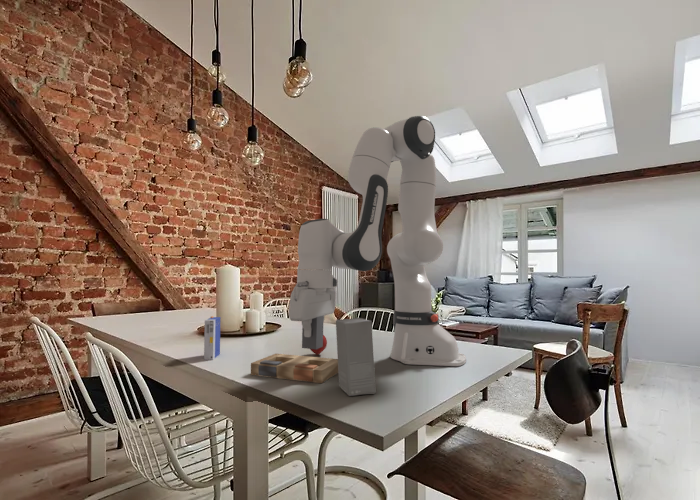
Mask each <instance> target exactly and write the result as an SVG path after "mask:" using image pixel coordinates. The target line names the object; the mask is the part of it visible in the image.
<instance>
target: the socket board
mask: <svg viewBox="0 0 700 500" xmlns="http://www.w3.org/2000/svg"><path fill="white" fill-rule="evenodd" d="M336 374H338V358H329V357H328V358H327V357H319V356H306V355H297V354H286V353H273V354H271V355H268V356H265V357H263V358H260V359H258V360H256V361H253V362H251V363H250V376H255V375H256V376H255V377H263V376H264V377H265V378H273V379H280V380H281V379H283V380H291V381H299V382H310V383H315V384H324V383H325V382H326V381H328V380H329V379H331V378H332V377H334V376H335V375H336Z"/></svg>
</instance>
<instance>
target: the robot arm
mask: <svg viewBox="0 0 700 500" xmlns="http://www.w3.org/2000/svg"><path fill="white" fill-rule="evenodd" d="M435 143H436V129H435V126H434V124H433V123H432V121H431V120H430V119H429V118H428V117H426V116H424V115H415V116H410V117H408V118H405V119H401V120H399V121H396V122H394V123H392V124H390V125H388V126H386V127H385V128H381V127H369V128H368V129H366V130H365V131H364V132H363V134H362V135H361V137H360V138H359V141H358V142H357V145H356V146H355V150H354V151H353V154H352V157H351V159H350V164H349V167H348V171H347V172H348V173H347V181H348V184H349V185H350V187H351V188H352V189H353V190H354V192H356V193H358V194H360V196H361V195H362V204H361V209H360V213H359V219H358V223H357V225H356V227H355V229H354V230H353V231H351V232H346V231H343V230H341V229H340V228H338V227H337V226H335V225H334V224H333V223H332V222H331V220H330V219H328V218H317V219H311V220H306V221H305V222H303V223H302V224H301V225H300V229H299V232H298V242H297V244H298V245H297V254H298V255H297V256H298V266H297V270H296V271H297V273H296V276H297V277H296V284H295V286H294V287H293V290H292V291H291V294H290V299H289V309H288V317H289V320H290V321H292V322H301V326H303V329H304V336H305V337H311V336H313V329H311V323H312V319H313V318H316V317H319V316H324V317H325V316H328V315H333V314H334V313H335V309H336V302H337V291H336V288H338V285H339V284H338V282H339V281H338V279H337V278H336V277H335V276H334V275H333V274H332V269H333V268H335V269H340V270H341V269H342V270H354V271H358V272H368V271H371V270H372V269H374V268H375V267H376V266H377V265H378V264H379V262H380V260H381V257H382V254H383V241H382V239H383V237H382V232H383V227H384V220H385V216H386V215H385V214H386V209H387V202H388V195H389V184H388V182H387V180H388V174H389V171H390V168H391V163H393V162H400V165H401V174H400V180H399V181H400V183H399V191H398V193H399V194H398V203H397V204H398V206H397V209H398V213H399V214H400V218H401V226H402V231H401V232H399V233H397V234H395V235H394V236H392V238H390V240H389V241H388V243H387V246H386V253H387V255H388V257H389V260H390V265H391V270H392V275H393V282H394V310H393V317H392V319H393V321H392V322H393V329H394V331H393V332H394V333H393V342H392V346H391V347H392V348H391V351H390V355H389V358H391V359H392V360H394V361H398V362H401V363H402V364H404V365H416V366H417V365H418V366H441V367H460V366H463V365H464V364H465V363H466V362H467V357H466V355H465V354H463V353H461V352H459V347H458V342H457V339H456V337H455V336H453V335H452V334H451V333H450V332H449V331H448V330H446V329H445V328H443V326H441V325H440V324H439V319H440V318H439V313H436V312H434V311H432V309H433V308H432V305H433V304H432V285H431V282H430V281H429V279H428V275H427V272H426V268H425V266H426V265H427V266H428V265H429V264H431V263H433V262H435V261H436V260H438V259H439V258H440V257H441V255H442V254H443V250H444V243H443V239H442V237H441V236H440V234H439V233H438V229H437V223H436V217H435V201H436V187H437V170H436V160H435V157H434V156H433V154H432V152H433V151H434V145H435ZM332 267H333V268H332ZM324 322H325V318H324V319H323V323H324Z"/></svg>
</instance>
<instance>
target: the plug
mask: <svg viewBox="0 0 700 500" xmlns="http://www.w3.org/2000/svg"><path fill="white" fill-rule="evenodd" d="M323 319H324V320H325V316H319V317H316V318H313V319H312V323H311V329H313V336H311V337H305V336H304V329H303V326H302V325H301V326H302V329H301V330H302V331H301V334H302V335H301V338H302V340H301V349H307V350H310V349H318V348H321V347H323V335H324V322H323Z"/></svg>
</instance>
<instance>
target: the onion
mask: <svg viewBox="0 0 700 500" xmlns="http://www.w3.org/2000/svg"><path fill="white" fill-rule="evenodd" d="M327 345H328V341H327V337H326V336H325V335H324V334H323V347H321V348H318V349H309V350H310V351H311V352H312V353H313V354H315V355H319V356H320V354H321V353H322V352H324V351H325V349H326V348H327Z"/></svg>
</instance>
